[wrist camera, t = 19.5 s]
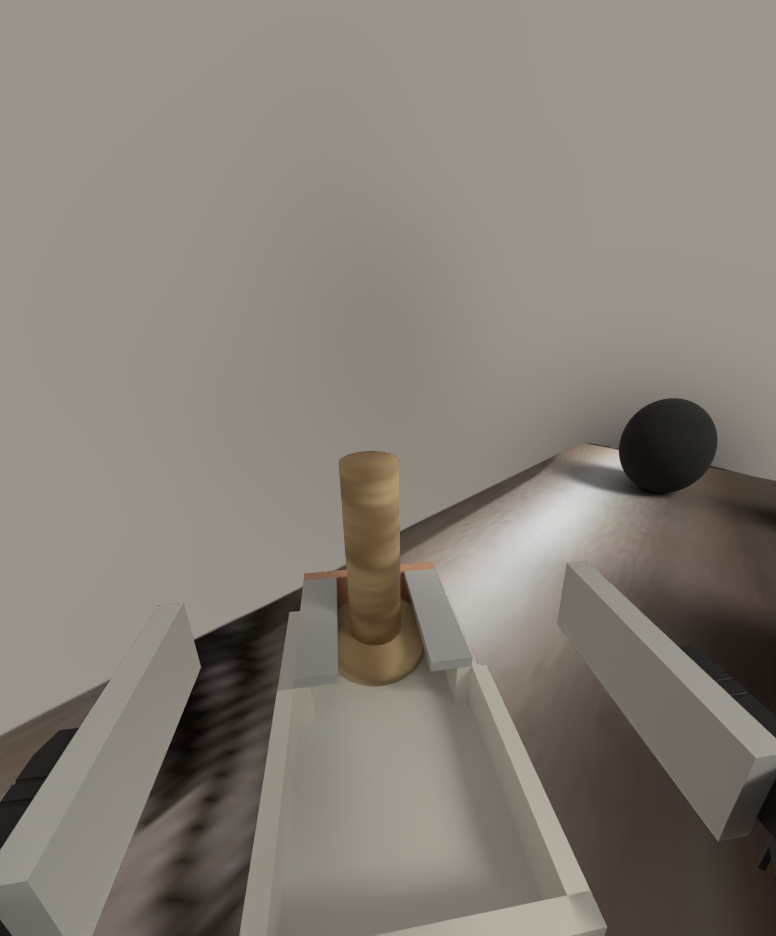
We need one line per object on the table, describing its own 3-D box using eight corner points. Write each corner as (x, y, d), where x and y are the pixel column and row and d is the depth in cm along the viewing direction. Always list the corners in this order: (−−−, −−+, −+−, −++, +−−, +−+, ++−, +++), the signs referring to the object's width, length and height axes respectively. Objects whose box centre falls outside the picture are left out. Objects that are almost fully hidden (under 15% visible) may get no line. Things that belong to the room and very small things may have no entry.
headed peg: (412, 607, 35) (412, 441, 30) (434, 678, 28) (439, 476, 23) (329, 618, 34) (313, 447, 29) (330, 693, 27) (308, 486, 22)
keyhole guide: (447, 604, 37) (449, 560, 35) (621, 1018, 15) (649, 952, 13) (290, 620, 35) (285, 575, 34) (217, 1121, 13) (189, 1061, 11)
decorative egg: (596, 486, 65) (613, 397, 60) (634, 471, 71) (652, 390, 66) (679, 513, 55) (708, 410, 50) (715, 494, 61) (744, 400, 56)
